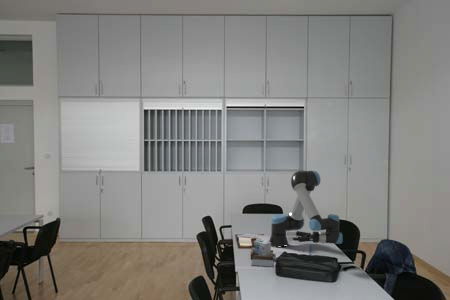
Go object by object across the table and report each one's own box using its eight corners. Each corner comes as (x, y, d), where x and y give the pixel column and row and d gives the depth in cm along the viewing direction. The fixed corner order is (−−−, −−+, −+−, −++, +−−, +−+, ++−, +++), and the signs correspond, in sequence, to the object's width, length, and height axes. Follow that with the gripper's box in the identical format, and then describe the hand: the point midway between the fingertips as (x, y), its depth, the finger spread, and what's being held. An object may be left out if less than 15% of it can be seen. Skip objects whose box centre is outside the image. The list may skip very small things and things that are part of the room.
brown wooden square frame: (251, 252, 253) (251, 246, 253) (273, 253, 251) (273, 248, 251) (250, 259, 238) (250, 253, 238) (273, 260, 236) (273, 254, 236)
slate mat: (252, 259, 237) (252, 258, 237) (272, 261, 235) (272, 260, 235) (251, 265, 225) (251, 264, 225) (272, 267, 223) (272, 266, 223)
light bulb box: (253, 255, 246) (253, 240, 246) (259, 253, 251) (259, 238, 251) (265, 259, 238) (265, 243, 238) (271, 257, 243) (271, 242, 243)
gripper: (321, 247, 225) (288, 246, 228) (316, 238, 250) (286, 236, 253) (321, 236, 225) (288, 234, 228) (316, 227, 250) (286, 226, 253)
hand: (287, 235), depth 240 cm, fingers open, 13 cm apart
